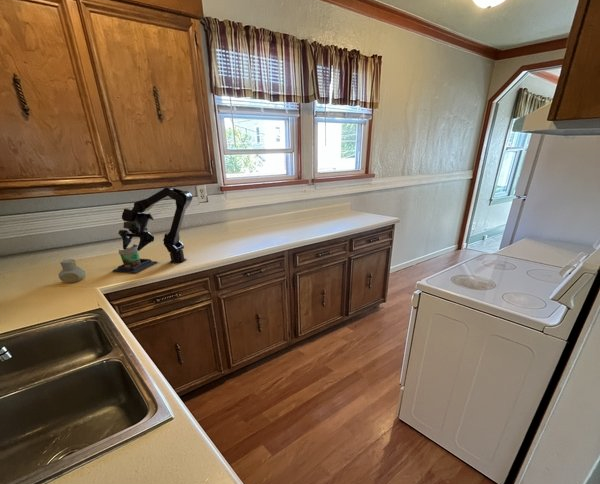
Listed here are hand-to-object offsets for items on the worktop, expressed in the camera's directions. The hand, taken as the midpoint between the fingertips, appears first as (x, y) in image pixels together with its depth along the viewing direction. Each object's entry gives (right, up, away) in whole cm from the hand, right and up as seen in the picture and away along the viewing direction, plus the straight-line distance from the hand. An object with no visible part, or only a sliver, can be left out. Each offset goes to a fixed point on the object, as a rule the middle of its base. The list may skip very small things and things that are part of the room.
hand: (130, 249), depth 170 cm
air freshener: (-21, -18, -12) cm, 30 cm away
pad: (0, -8, +5) cm, 10 cm away
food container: (0, -8, +5) cm, 9 cm away
